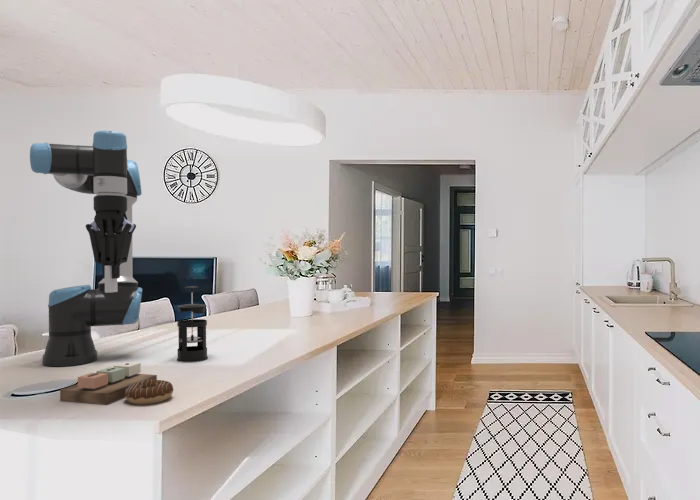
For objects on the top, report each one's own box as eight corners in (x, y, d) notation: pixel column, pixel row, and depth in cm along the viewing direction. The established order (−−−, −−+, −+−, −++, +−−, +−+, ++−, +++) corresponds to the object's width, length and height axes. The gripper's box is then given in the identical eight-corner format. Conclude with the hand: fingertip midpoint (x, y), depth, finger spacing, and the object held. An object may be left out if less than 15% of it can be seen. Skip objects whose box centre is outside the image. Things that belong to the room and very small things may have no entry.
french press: (196, 363, 163) (195, 287, 163) (169, 361, 166) (168, 287, 166) (216, 355, 174) (215, 285, 174) (190, 354, 177) (190, 284, 177)
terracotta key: (77, 387, 124) (77, 376, 124) (92, 382, 128) (91, 371, 128) (94, 388, 122) (94, 377, 122) (108, 383, 127) (107, 372, 127)
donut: (183, 396, 127) (183, 379, 127) (150, 409, 118) (150, 390, 118) (148, 392, 132) (148, 375, 132) (114, 403, 122) (114, 386, 122)
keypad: (60, 400, 124) (60, 381, 124) (113, 381, 141) (113, 365, 141) (107, 404, 121) (107, 385, 121) (156, 384, 138) (156, 367, 138)
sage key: (96, 381, 129) (96, 370, 129) (109, 376, 134) (109, 366, 134) (112, 382, 128) (112, 371, 128) (125, 377, 133) (124, 367, 133)
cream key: (113, 375, 135) (113, 365, 135) (125, 371, 140) (125, 361, 140) (129, 376, 134) (128, 366, 134) (140, 372, 138) (140, 362, 138)
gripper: (76, 194, 129) (77, 292, 130) (122, 193, 126) (123, 294, 126) (99, 197, 137) (99, 290, 137) (143, 196, 133) (143, 291, 133)
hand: (111, 291), depth 131 cm, fingers closed
